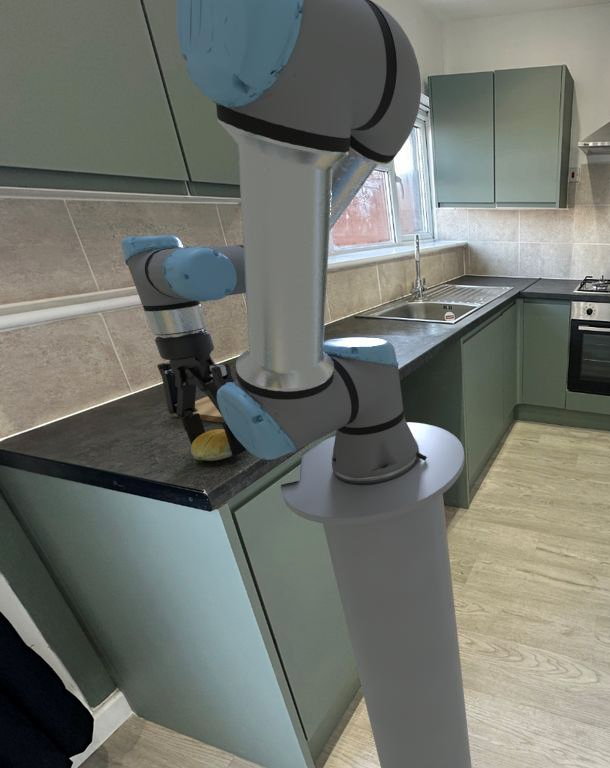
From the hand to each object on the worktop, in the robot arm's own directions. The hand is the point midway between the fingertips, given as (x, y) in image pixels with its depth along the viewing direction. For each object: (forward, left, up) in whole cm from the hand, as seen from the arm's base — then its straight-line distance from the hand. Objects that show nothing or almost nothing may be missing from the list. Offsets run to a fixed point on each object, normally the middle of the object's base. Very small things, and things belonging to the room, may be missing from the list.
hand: (220, 449), depth 78 cm
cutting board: (+17, -18, -1) cm, 25 cm away
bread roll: (0, 0, 0) cm, 1 cm away
